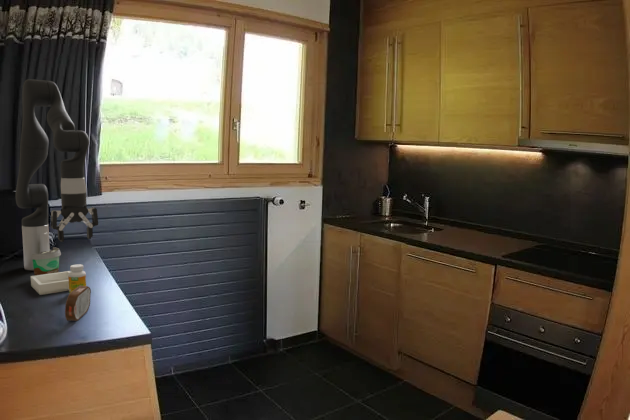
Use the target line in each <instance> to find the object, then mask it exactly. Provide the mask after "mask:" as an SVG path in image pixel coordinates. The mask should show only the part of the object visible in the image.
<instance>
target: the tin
mask: <svg viewBox="0 0 630 420" xmlns="http://www.w3.org/2000/svg"><path fill="white" fill-rule="evenodd" d="M91 293H92V290H91V288H90V286H88V285H86V286H81V285H80V286H79V287H77V288H76V289H75V290H73V291H72V292H71V293H70V294H69V293H68V296H67V298H66V301H65V302H66V303H65V308H64V314H65V315H64V316H65V319H66V321H68V322H69V321H70V322H73V321H74V322H78V321H79V320H80V319H81V318H82V317H83V316H85V315H86V314H87V312H88V311H89V310H90V305H91Z"/></svg>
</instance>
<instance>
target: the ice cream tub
mask: <svg viewBox="0 0 630 420" xmlns="http://www.w3.org/2000/svg"><path fill="white" fill-rule="evenodd" d="M61 255H62V253H61V250H60V248H58V247H54V246H52V249H50V251H44V252H41V253H39V254H32V255H31V259H32V260H33V268H34V270H33V273H34V275H33V276H36V275H43V274H51V273H58V272H60V271H59V269H60V256H61Z"/></svg>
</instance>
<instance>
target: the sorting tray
mask: <svg viewBox="0 0 630 420" xmlns="http://www.w3.org/2000/svg"><path fill="white" fill-rule="evenodd" d="M70 272H71V270H66V271H58V273H51V274H43V275H36V276H35V275H30V286H31V287H32V288H33V290H35V292H36V293H37V294H39V296H42V295H49V294H56V293H62V292H67V291H68V292H69V279H68V275H69V273H70Z"/></svg>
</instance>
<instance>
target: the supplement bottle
mask: <svg viewBox="0 0 630 420" xmlns="http://www.w3.org/2000/svg"><path fill="white" fill-rule="evenodd" d="M69 271H71V272H70V273H69V275H68V279H69V291H68V295H69V294H70V293H71V292H72V291H73V290H75V289H76V288H77V287H79V286H80V285H81V286H87V273H86V271H85V270H84V265H83V264H80V263H79V264H72V265H70V269H69Z"/></svg>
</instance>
